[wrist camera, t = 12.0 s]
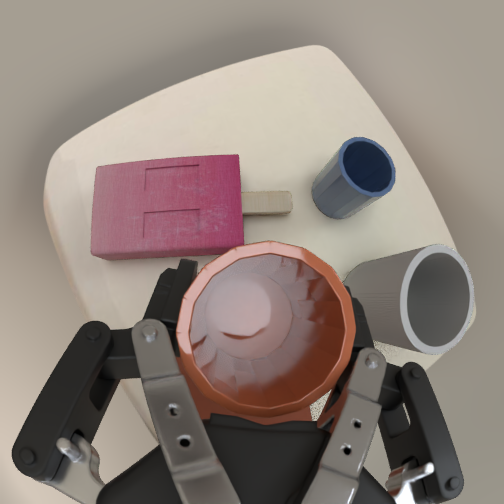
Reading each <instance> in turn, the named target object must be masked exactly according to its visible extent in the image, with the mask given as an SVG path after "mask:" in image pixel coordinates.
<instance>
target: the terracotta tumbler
mask: <svg viewBox="0 0 504 504" xmlns="http://www.w3.org/2000/svg"><path fill="white" fill-rule="evenodd" d="M355 333H356V325H355V318H354V313H353V307H352V301H351V297H350V295H349V293H348V291H347V290H346V288H345V287H344V285H343V283H342V282H341V280H340V279H339V277H338V275H337V274H336V272H335V271H334V269H333V268H332V267H331V266H330V265H328V264H327V263H325V262H324V261H323V260H321V259H320V258H318V257H317V256H315V255H314V254H313V253H311V252H310V251H308V250H307V249H304V248H303V247H298V246H294V245H289V244H285V243H280V242H276V241H263V242H257V243H252V244H246V245H241V246H236V247H233V248H231V249H230V250H228V251H227V252H225V253H224V254H222V255H221V256H219V257H217V258H216V259H214V260H213V261H211V262H210V263H208V264H206V265H205V266H204V267H203V268H202V269H201V271H200V272H199V273H198V275H197V276H196V278H195V279H194V281H193V282H192V284H191V285H190V287H189V288H188V290H187V291H186V292H185V294H184V295H183V298H182V301H181V306H180V311H179V317H178V322H177V327H176V338H177V343H178V347H179V352H180V356H181V360H182V365H183V367H184V370H185V371H186V372H187V374H188V375H189V377H190V378H191V379H192V381H193V382H194V383H195V385H196V386H197V387H198V389H199V390H200V391H201V393H202V394H203V395H204V396H205V397H206V398H208V399H210V400H211V401H213V402H215V403H216V404H218V405H220V406H222V407H223V408H225V409H227V410H229V411H230V412H232V413H235V414H239V415H245V416H253V417H261V418H274V417H278V416H282V415H286V414H290V413H294V412H298V411H301V410H302V409H305V408H307V407H308V406H309V405H311V404H312V403H314V402H315V401H317V400H318V399H319V398H321V397H322V396H324V395H325V394H326V393H328V392H329V391H330V390H331V389H332V388H333V386H334V385H335V383H336V382H337V380H338V379H339V377H340V376H341V374H342V373H343V371H344V370H345V368H346V366H347V365H348V363H349V361H350V357H351V352H352V348H353V343H354V338H355Z"/></svg>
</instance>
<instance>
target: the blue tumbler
mask: <svg viewBox="0 0 504 504" xmlns="http://www.w3.org/2000/svg"><path fill="white" fill-rule="evenodd" d="M394 183H395V167H394V164H393V161H392V159H391V157H390V156H389V154H388V153H387V152H386V150H385V149H384V148H383V147H382V146H380V145H379V144H378V143H376V142H375V141H373V140H370V139H367V138H365V137H354V138H351V139H349V140H347V141H345V142H344V143H343V145H342V146H341V147H340V148H339V150H338V151H337V152H336V153H335V155H334V156H333V157H332V158H331V160H330V161H329V162H328V163H327V165H326V166H325V167H324V168H323V170H322V171H321V172H320V173H319V175H318V176H317V178H316V179H315V181H314V183H313V186H312V196H313V199H314V202H315V204H316V206H317V207H318V208H319V210H320V211H321V212H322V213H324V214H325V215H327V216H329V217H331V218H334V219H345V218H348V217H350V216H352V215H354V214H355V213H357V212H358V211H360V210H362V209H363V208H365V207H366V206H368V205H370V204H371V203H373V202H374V201H376V200H377V199H379V198H381V197H382V196H384V195H385V194H387V193H388V192H389V191H391V189H392V187H393V185H394Z"/></svg>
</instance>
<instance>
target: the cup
mask: <svg viewBox="0 0 504 504" xmlns="http://www.w3.org/2000/svg"><path fill="white" fill-rule="evenodd" d="M343 285H346V286H349V288H350V291H351V295H352V297H354V298H357V299H358V300H359V302H360V303H361V305H362V306H363V309H364V312H365V317H366V319H367V324H368V326H369V329H370V333H371V336H372V340H374V341H378V342H382V343H385V344H389V345H393V346H397V347H401V348H405V349H409V350H413V351H417V352H421V353H425V354H430V355H433V354H434V355H436V354H437V355H438V354H442V353H444V352H447V351H448V350H450V349H451V348H452V347H454V346H455V345H456V344H457V343H458V342H459V340H460V339H461V338H462V336H463V335H464V333H465V332H466V330H467V327H468V325H469V323H470V319H471V316H472V312H473V306H474V305H473V304H474V288H473V282H472V277H471V275H470V271H469V269H468V266H467V265H466V263H465V261H464V260H463V258H462V257H461V256H460V255H459V254H458V253H457V252H456V251H455V250H453V249H452V248H450V247H448V246H446V245H442V244H441V245H440V244H435V245H430V246H426V247H422V248H419V249H415V250H411V251H407V252H403V253H400V254H396V255H392V256H388V257H384V258H380V259H376V260H372V261H368V262H364V263H362V264H360V265H358V266H357V267H355V268H354V269H353V270H352V271H351V272H350V274H349V275H348V276H347V278H346V279H345V281H344V283H343Z"/></svg>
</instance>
